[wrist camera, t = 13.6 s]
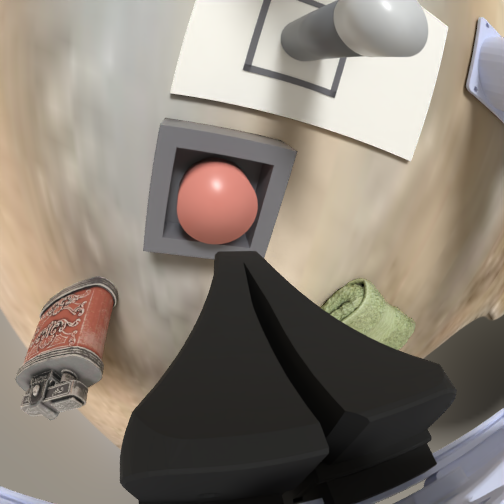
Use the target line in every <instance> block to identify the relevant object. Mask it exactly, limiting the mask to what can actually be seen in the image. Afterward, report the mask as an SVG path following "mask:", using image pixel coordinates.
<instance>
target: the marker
mask: <svg viewBox="0 0 504 504" xmlns="http://www.w3.org/2000/svg"><path fill="white" fill-rule="evenodd" d="M427 39H428V23H427V19H426V16H425V13H424V11H423V9H422V7H421V5H420V4H419V2H418V1H417V0H337V1H334V2H332V3H330V4H327V5H325V6H323V7H321V8H319V9H317V10H315V11H312V12H310V13H308V14H306V15H304V16H302V17H300V18H298V19H296V20H294V21H292V22H291V23H289V24H287V25H286V26H285V27H284V29H283V31H282V33H281V44H282V47H283V49H284V50H285V52H286V53H287V54H288V55H289V56H290V57H292V58H294V59H296V60H299V61H314V60H323V59H333V58H345V57H361V56H366V57H411V56H414V55H416V54H418V53H419V52H420V51H421V50H422V49H423V48H424V46H425V44H426V42H427Z"/></svg>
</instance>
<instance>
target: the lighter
mask: <svg viewBox="0 0 504 504" xmlns="http://www.w3.org/2000/svg"><path fill="white" fill-rule="evenodd" d="M117 297H118V292H117V289H116V287H115V285H114V284H113V283H112V282H111V281H110V280H108V279H106V278H104V277H93V278H89V279H86V280H83V281H80V282H77V283H75V284H73V285H71V286H68V287H66V288H64V289H63V290H61V291H60V292H59V293H57V294H56V295H54V296H53V297H52V298H51V299H50V300H49V301H48V302H47V303H46V304H45V305H44V307H43V309H42V311H41V313H40V321H39V324H38V326H37V329H36V331H35V334H34V336H33V339H32V341H31V344H30V347H29V349H28V352H27V355H26V358H25V361H24V364H23V365H22V366H21V367H20V368H19V370H18V373H17V376H16V382H17V384H18V385H19V386H20V387H21V388H22V389H23V390H24V391H26V394H25V395H24V396H23V399H22V403H21V407H20V408H21V410H23V411H24V412H25V413H27V414H28V415H31V416H38V415H43V416H45V417H46V418H48V419H49V420H53V419H55V418H56V417H57V416H58V414H59V413H60V412H62V411H67V410H71V409H76V408H80V407H82V406H83V405H85V404H86V399H87V393H88V387H90V386H91V385H93V384H95V383H97V382H98V381H100V380H101V379H102V374H103V367H104V364H103V362H102V356H103V351H104V345H105V340H106V335H107V330H108V326H109V321H110V317H111V312H112V309H113V308H114V307H115V306H116V301H117Z"/></svg>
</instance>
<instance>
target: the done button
mask: <svg viewBox="0 0 504 504" xmlns="http://www.w3.org/2000/svg"><path fill="white" fill-rule="evenodd" d="M257 209H258V202H257V196H256V193H255V191H254V189H253V187H252V186H251V184H250V182H249V180H248V179H247V177H246V175H245V174H244V172H243V171H242V169H241V168H240V167H239V166H237V165H236V164H235V163H233V162H231V161H229V160H226V159H222V158H208V159H204V160H201V161H199V162H197V163H195V164H193V165H192V166H191V167H190V168H189V169H188V170H187V171H186V172H185V173H184V175H183V177H182V178H181V181H180V184H179V189H178V201H177V215H178V219H179V222H180V224H181V226H182V228H183V229H184V230H185V231H186V233H187V234H188V235H190V236H191V237H192V238H194V239H196V240H198V241H200V242H203V243H207V244H224V243H228V242H231V241H234V240H236V239H237V238H239V237H241V236H242V235H243V234H244V233H246V232H247V231H248V229H249V228H250V227H251V225H252V224H253V222H254V220H255V218H256V215H257Z"/></svg>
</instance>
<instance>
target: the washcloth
mask: <svg viewBox="0 0 504 504" xmlns="http://www.w3.org/2000/svg"><path fill="white" fill-rule="evenodd" d="M320 308H321V309H323V310H324V311H326V312H327V313H329V314H330V315H332V316H333V317H335V318H336V319H338V320H339V321H341V322H343V323H344V324H346V325H348V326H349V327H351V328H353V329H355V330H357V331H359V332H360V333H362V334H364V335H366V336H368V337H370V338H372V339H374V340H376V341H378V342H380V343H382V344H385V345H387V346H389V347H392V348H394V349H396V350H399V349H400V348H402V347H403V345H405V344H406V343H407V340H408V339H409V337H410V336H411V335H412V334H413V332H414V329H415V322H414V321H413V320H412V318H410V317H408V316H407V315H404V313H403V312H401V311H400V309H397V307H395V306H391V305H389V304H388V303H387V302H385V301H384V298H383V296H381V294H380V292H378V290H377V289H375V286H374V285H373V284H372V283H371V282H370V281H368V280H366V279H362V278H359V279H355V280H353V281H350V282H349V283H347V284H346V285H345V286H344V287H343V288H341V289H340V290H338V291H336V293H335V294H333V296H332V297H331V298H329V300H327V302H326V303H325V304H324V305H323V306H321V307H320Z"/></svg>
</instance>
